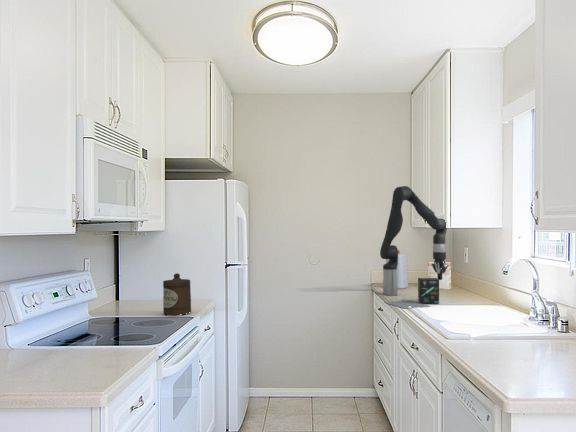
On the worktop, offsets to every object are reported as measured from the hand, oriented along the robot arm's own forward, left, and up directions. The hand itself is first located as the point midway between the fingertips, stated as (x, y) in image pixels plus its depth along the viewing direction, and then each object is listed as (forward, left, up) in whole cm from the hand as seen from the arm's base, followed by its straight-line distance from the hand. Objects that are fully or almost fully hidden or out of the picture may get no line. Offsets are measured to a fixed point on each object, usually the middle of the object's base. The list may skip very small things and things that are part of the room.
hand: (439, 279), depth 281 cm
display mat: (0, -24, -13) cm, 27 cm away
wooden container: (-25, -154, -14) cm, 156 cm away
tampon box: (0, -9, -14) cm, 16 cm away
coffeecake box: (-49, +36, -14) cm, 62 cm away
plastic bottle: (-66, +10, -14) cm, 68 cm away
